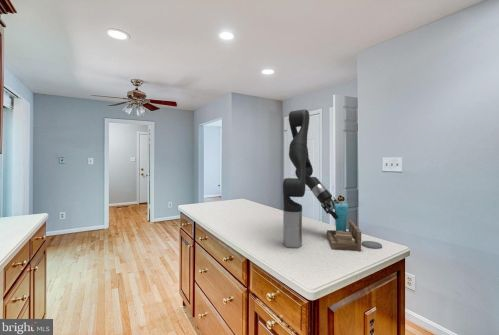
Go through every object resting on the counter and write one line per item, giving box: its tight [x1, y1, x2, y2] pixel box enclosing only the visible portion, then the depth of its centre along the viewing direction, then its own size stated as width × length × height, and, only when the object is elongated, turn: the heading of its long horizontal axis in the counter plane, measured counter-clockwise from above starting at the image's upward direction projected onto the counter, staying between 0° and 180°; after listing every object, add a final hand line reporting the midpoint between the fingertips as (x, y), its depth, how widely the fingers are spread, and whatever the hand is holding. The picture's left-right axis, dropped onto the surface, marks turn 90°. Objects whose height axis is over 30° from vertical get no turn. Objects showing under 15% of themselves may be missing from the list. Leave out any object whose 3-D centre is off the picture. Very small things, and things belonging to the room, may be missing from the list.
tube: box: [334, 203, 349, 232], centre depth 133 cm, size 7×5×19 cm, turn 96°
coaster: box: [361, 240, 383, 250], centre depth 124 cm, size 9×9×1 cm
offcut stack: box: [334, 230, 355, 243], centre depth 124 cm, size 9×9×6 cm
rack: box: [326, 219, 362, 252], centre depth 128 cm, size 22×13×9 cm, turn 169°
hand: (340, 217), depth 133 cm, fingers open, 8 cm apart
